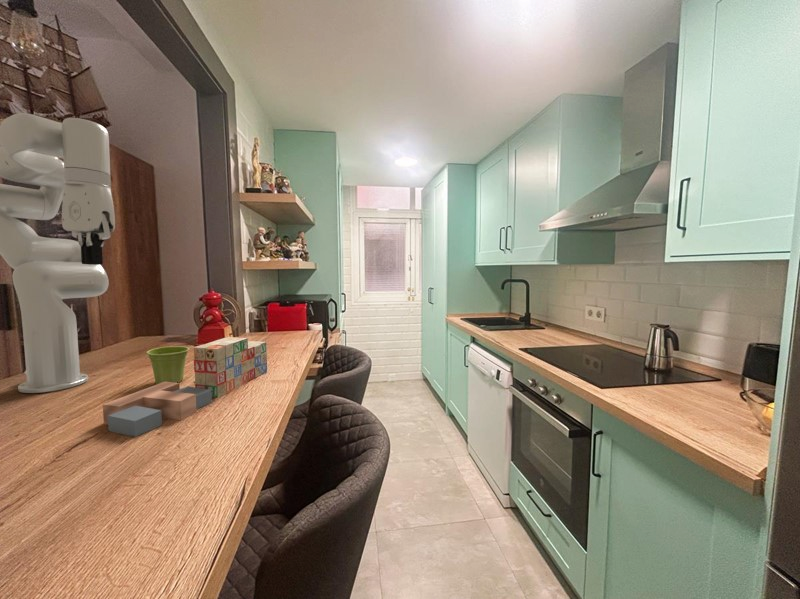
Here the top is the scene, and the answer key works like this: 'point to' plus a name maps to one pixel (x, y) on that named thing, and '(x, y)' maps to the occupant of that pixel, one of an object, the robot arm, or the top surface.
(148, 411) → the t dock
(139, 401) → the t block
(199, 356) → the stack of blocks
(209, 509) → the top surface
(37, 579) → the top surface
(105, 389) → the top surface
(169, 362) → the plant pot
